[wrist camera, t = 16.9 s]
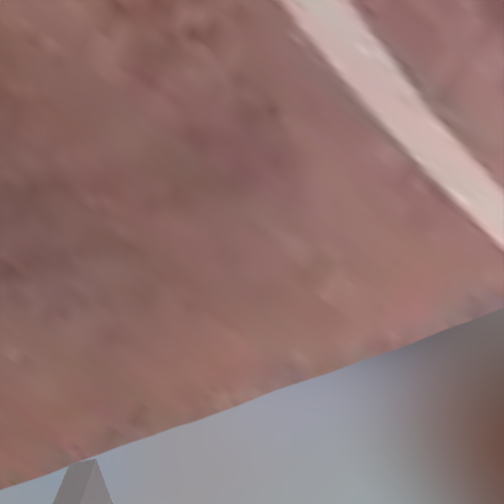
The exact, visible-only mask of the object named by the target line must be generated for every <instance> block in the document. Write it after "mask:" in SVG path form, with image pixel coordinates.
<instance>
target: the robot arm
mask: <svg viewBox="0 0 504 504" xmlns="http://www.w3.org/2000/svg"><path fill="white" fill-rule="evenodd" d="M53 504H113V503H112V501H111V498H110V495H109V492H108V490H107V487H106V485H105V482H104V479H103V476H102V474H101V471H100V469H99V466H98V463H97V460H96V459H93V460H88V461H83V462H78V463H73V464H69V467H68V469H67V472H66V474H65V476H64V479H63V481H62V484H61V486H60V488H59V491H58V493H57V496H56V498H55V500H54V503H53Z"/></svg>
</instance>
